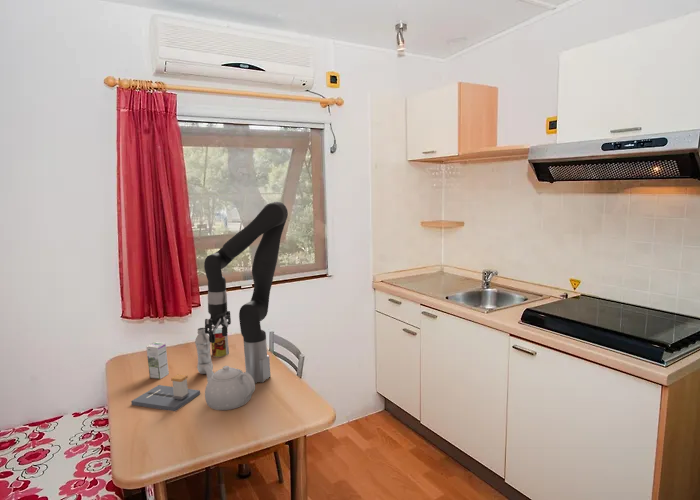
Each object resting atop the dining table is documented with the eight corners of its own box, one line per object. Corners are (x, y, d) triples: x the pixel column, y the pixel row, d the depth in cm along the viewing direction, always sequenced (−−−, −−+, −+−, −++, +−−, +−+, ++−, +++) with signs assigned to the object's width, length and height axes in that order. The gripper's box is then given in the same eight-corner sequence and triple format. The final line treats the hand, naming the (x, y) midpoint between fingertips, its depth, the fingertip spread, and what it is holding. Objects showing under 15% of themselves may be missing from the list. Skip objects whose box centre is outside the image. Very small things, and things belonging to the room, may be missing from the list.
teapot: (202, 417, 149) (199, 380, 147) (205, 394, 166) (202, 361, 165) (256, 408, 154) (254, 372, 152) (254, 387, 171) (252, 354, 170)
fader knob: (189, 394, 162) (188, 375, 161) (182, 399, 158) (180, 379, 157) (180, 393, 164) (178, 373, 163) (172, 398, 159) (170, 378, 158)
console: (200, 394, 167) (199, 390, 166) (175, 411, 154) (174, 407, 153) (159, 388, 173) (158, 384, 173) (131, 404, 160) (131, 400, 160)
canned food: (212, 352, 212) (210, 329, 210) (228, 350, 214) (226, 327, 212) (212, 358, 204) (210, 334, 203) (229, 355, 206) (227, 332, 205)
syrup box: (169, 373, 187) (166, 342, 185) (160, 379, 182) (156, 347, 180) (158, 372, 189) (155, 341, 187) (148, 378, 183) (145, 346, 181)
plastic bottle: (203, 377, 182) (199, 332, 180) (194, 373, 187) (190, 329, 184) (216, 371, 188) (213, 328, 185) (207, 368, 192) (203, 325, 189)
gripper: (214, 306, 167) (215, 346, 169) (235, 297, 180) (236, 334, 182) (198, 304, 169) (200, 343, 171) (220, 296, 182) (221, 332, 185)
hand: (218, 339), depth 177 cm, fingers open, 8 cm apart
